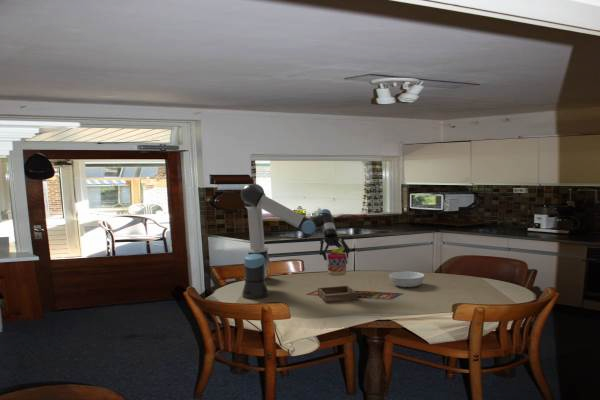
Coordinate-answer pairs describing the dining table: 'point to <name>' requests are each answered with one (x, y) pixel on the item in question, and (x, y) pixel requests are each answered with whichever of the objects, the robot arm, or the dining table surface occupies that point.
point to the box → (337, 294)
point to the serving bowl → (407, 278)
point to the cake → (337, 262)
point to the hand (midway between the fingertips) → (337, 263)
